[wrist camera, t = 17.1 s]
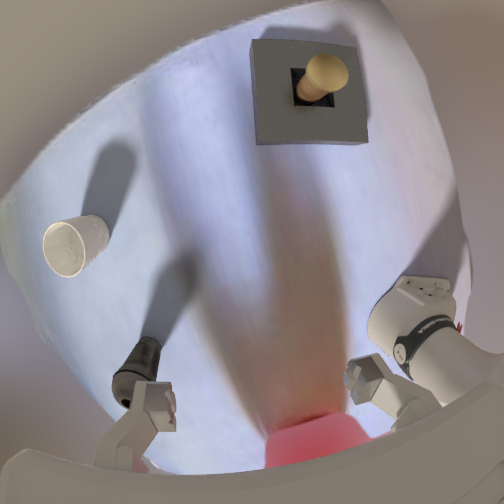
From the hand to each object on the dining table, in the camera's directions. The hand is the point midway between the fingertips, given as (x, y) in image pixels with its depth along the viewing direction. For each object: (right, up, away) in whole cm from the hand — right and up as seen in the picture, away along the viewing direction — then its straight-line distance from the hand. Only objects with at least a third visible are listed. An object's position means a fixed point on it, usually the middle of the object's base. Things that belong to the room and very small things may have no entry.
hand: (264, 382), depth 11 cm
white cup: (-27, +9, +29) cm, 41 cm away
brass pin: (+7, +30, +26) cm, 40 cm away
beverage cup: (-20, -12, +36) cm, 43 cm away
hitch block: (+8, +30, +26) cm, 40 cm away
